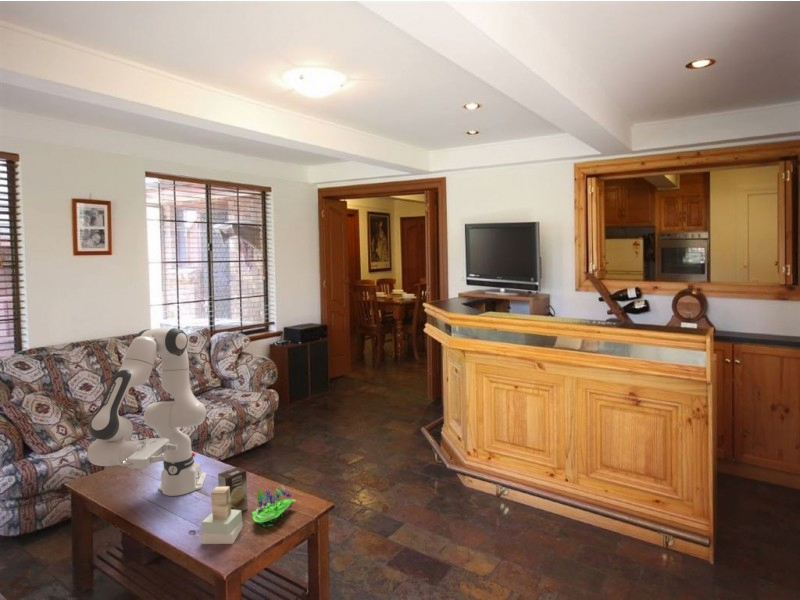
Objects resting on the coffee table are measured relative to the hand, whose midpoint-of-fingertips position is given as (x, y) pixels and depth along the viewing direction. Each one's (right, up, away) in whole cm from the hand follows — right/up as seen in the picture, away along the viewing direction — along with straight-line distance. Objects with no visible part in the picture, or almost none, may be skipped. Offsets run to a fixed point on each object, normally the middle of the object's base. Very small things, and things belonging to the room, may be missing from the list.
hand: (171, 452), depth 197 cm
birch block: (+19, -22, -2) cm, 30 cm away
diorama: (+35, -29, +11) cm, 46 cm away
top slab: (+19, -27, -1) cm, 33 cm away
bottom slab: (+19, -31, -1) cm, 36 cm away
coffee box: (+18, -28, +17) cm, 37 cm away
